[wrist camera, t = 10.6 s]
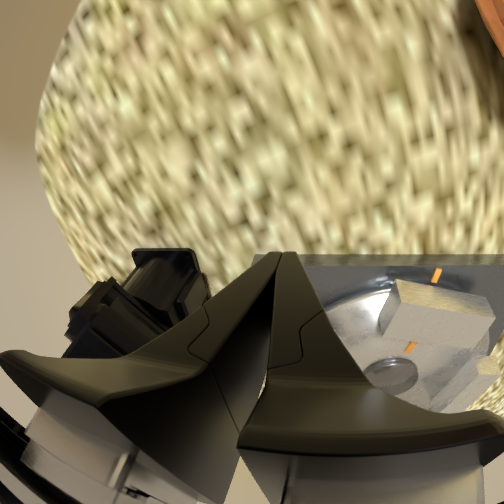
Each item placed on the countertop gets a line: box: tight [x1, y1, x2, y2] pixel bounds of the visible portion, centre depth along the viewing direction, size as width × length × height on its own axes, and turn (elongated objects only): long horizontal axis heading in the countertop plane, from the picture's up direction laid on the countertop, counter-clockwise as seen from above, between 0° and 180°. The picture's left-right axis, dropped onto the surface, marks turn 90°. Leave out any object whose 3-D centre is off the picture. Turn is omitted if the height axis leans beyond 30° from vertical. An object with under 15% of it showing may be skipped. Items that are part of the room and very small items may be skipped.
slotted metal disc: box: [324, 279, 501, 413], centre depth 25 cm, size 23×23×4 cm
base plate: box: [251, 255, 504, 411], centre depth 27 cm, size 25×25×2 cm
